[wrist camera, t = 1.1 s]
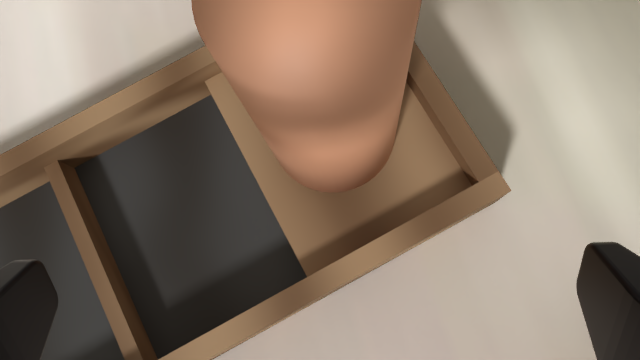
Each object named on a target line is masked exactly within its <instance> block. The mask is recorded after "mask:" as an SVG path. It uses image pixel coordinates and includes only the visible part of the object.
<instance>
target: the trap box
mask: <svg viewBox="0 0 640 360" xmlns="http://www.w3.org/2000/svg"><path fill="white" fill-rule="evenodd" d="M510 191H511V189H510V188H509V186H508V185H507V183H506V182H505V180H504V179H503V177H502V176H501V174H500V173H499V171H498V169H497V168H496V166H495V165H494V163H493V162H492V160H491V159H490V157H489V156H488V154H487V153H486V151H485V149H484V148H483V146H482V145H481V143H480V142H479V140H478V139H477V137H476V136H475V134H474V133H473V131H472V129H471V128H470V126H469V125H468V123H467V122H466V120H465V119H464V117H463V116H462V114H461V113H460V111H459V109H458V108H457V106H456V105H455V103H454V102H453V100H452V99H451V97H450V96H449V94H448V93H447V91H446V89H445V88H444V86H443V85H442V83H441V82H440V80H439V79H438V77H437V76H436V74H435V73H434V71H433V69H432V68H431V66H430V65H429V63H428V62H427V60H426V59H425V57H424V56H423V54H422V53H421V51H420V49H419V48H418V46H417V45H416V43H415V42H414V43H413V48H412V53H411V58H410V63H409V68H408V74H407V79H406V84H405V89H404V94H403V100H402V105H401V110H400V115H399V120H398V125H397V131H396V136H395V141H394V145H393V149H392V152H391V155H390V157H389V159H388V161H387V162H386V164H385V166H384V167H383V168H382V169H381V171H380V172H379V173H378V174H377V175H376V176H375V177H374V178H372V179H371V180H370V181H368V182H367V183H365V184H363V185H362V186H359V187H357V188H355V189H352V190H348V191H344V192H321V191H317V190H313V189H310V188H308V187H305V186H303V185H302V184H300V183H298V182H297V181H295V180H294V179H293V178H292V177H290V176H289V175H288V174H287V173H286V171H285V170H284V169H283V167H282V166H281V165H280V163H279V161H278V160H277V158H276V157H275V155H274V153H273V152H272V150H271V149H270V147H269V146H268V144H267V142H266V141H265V139H264V138H263V136H262V134H261V133H260V131H259V130H258V128H257V126H256V125H255V123H254V122H253V120H252V118H251V117H250V115H249V114H248V112H247V111H246V109H245V107H244V106H243V104H242V103H241V101H240V99H239V98H238V96H237V95H236V93H235V91H234V90H233V88H232V87H231V85H230V84H229V82H228V80H227V79H226V77H225V76H224V74H223V72H222V71H221V69H220V68H219V66H218V64H217V63H216V61H215V60H214V58H213V56H212V55H211V53H210V52H209V50H208V49H207V47H206V46H204V47H202V48H200V49H198V50H196V51H194V52H192V53H191V54H189V55H187V56H185V57H183V58H181V59H179V60H177V61H176V62H174V63H172V64H170V65H168V66H166V67H164V68H162V69H161V70H159V71H157V72H155V73H153V74H151V75H149V76H147V77H146V78H144V79H142V80H140V81H138V82H136V83H134V84H132V85H131V86H129V87H127V88H125V89H123V90H121V91H119V92H117V93H116V94H114V95H112V96H110V97H108V98H106V99H104V100H102V101H101V102H99V103H97V104H95V105H93V106H91V107H89V108H87V109H86V110H84V111H82V112H80V113H78V114H76V115H74V116H72V117H71V118H69V119H67V120H65V121H63V122H61V123H59V124H57V125H56V126H54V127H52V128H50V129H48V130H46V131H44V132H42V133H41V134H39V135H37V136H35V137H33V138H31V139H29V140H27V141H26V142H24V143H22V144H20V145H18V146H16V147H14V148H12V149H11V150H9V151H7V152H5V153H3V154H1V155H0V269H1V268H2V267H4V266H5V265H7V264H9V263H10V262H12V261H15V260H34V259H35V260H39V261H40V262H42V263H43V264H44V266H45V268H46V270H47V272H48V275H49V277H50V279H51V281H52V283H53V285H54V287H55V290H56V292H57V294H58V308H57V311H56V314H55V317H54V320H53V323H52V326H51V329H50V332H49V335H48V338H47V341H46V344H45V347H44V350H43V353H42V356H41V359H40V360H212V359H214V358H216V357H218V356H220V355H221V354H223V353H225V352H227V351H229V350H230V349H232V348H234V347H236V346H238V345H239V344H241V343H243V342H245V341H247V340H248V339H250V338H252V337H254V336H256V335H257V334H259V333H261V332H263V331H265V330H266V329H268V328H270V327H272V326H274V325H275V324H277V323H279V322H281V321H283V320H284V319H286V318H288V317H290V316H292V315H293V314H295V313H297V312H299V311H301V310H302V309H304V308H306V307H308V306H310V305H311V304H313V303H315V302H317V301H319V300H320V299H322V298H324V297H326V296H328V295H329V294H331V293H333V292H335V291H337V290H338V289H340V288H342V287H344V286H345V285H347V284H349V283H351V282H353V281H354V280H356V279H358V278H360V277H362V276H363V275H365V274H367V273H369V272H371V271H372V270H374V269H376V268H378V267H380V266H381V265H383V264H385V263H387V262H389V261H390V260H392V259H394V258H396V257H398V256H399V255H401V254H403V253H405V252H407V251H408V250H410V249H412V248H414V247H416V246H417V245H419V244H421V243H423V242H425V241H426V240H428V239H430V238H432V237H434V236H435V235H437V234H439V233H441V232H443V231H444V230H446V229H448V228H450V227H452V226H453V225H455V224H457V223H459V222H461V221H462V220H464V219H466V218H468V217H470V216H471V215H473V214H475V213H477V212H479V211H480V210H482V209H484V208H486V207H488V206H489V205H491V204H493V203H495V202H496V201H497V200H499V199H500V198H502V197H503V196H504V195H506V194H507V193H508V192H510Z"/></svg>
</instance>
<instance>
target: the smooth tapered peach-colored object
mask: <svg viewBox="0 0 640 360" xmlns="http://www.w3.org/2000/svg"><path fill="white" fill-rule="evenodd" d="M421 1H422V0H192V11H193V15H194V20H195V24H196V26H197V29H198V31H199V34H200V36H201V38H202V40H203V42H204V43H205V45H206V47H207V49H208V50H209V52H210V53H211V55H212V56H213V58H214V60H215V61H216V63H217V64H218V66H219V68H220V69H221V71H222V72H223V74H224V76H225V77H226V79H227V80H228V82H229V84H230V85H231V87H232V88H233V90H234V91H235V93H236V95H237V96H238V98H239V99H240V101H241V103H242V104H243V106H244V107H245V109H246V111H247V112H248V114H249V115H250V117H251V118H252V120H253V122H254V123H255V125H256V126H257V128H258V130H259V131H260V133H261V134H262V136H263V138H264V139H265V141H266V142H267V144H268V146H269V147H270V149H271V150H272V152H273V153H274V155H275V157H276V158H277V160H278V161H279V163H280V165H281V166H282V167H283V169H284V170H285V171H286V173H287V174H288V175H289V176H290V177H292V178H293V179H294V180H295V181H297V182H298V183H300V184H302V185H303V186H305V187H308V188H310V189H313V190H317V191H321V192H344V191H348V190H352V189H355V188H357V187H359V186H362V185H363V184H365V183H367V182H368V181H370V180H371V179H372V178H374V177H375V176H376V175H377V174H378V173H379V172H380V171H381V169H382V168H383V167H384V166H385V164H386V162H387V161H388V159H389V157H390V155H391V152H392V149H393V145H394V141H395V136H396V131H397V125H398V120H399V115H400V110H401V105H402V100H403V94H404V89H405V84H406V79H407V74H408V68H409V63H410V58H411V53H412V48H413V43H414V37H415V32H416V27H417V22H418V17H419V11H420V6H421Z"/></svg>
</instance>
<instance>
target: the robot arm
mask: <svg viewBox="0 0 640 360" xmlns="http://www.w3.org/2000/svg"><path fill="white" fill-rule="evenodd" d="M577 295H578V298H579V302H580V305H581V308H582V312H583V315H584V318H585V321H586V325H587V328H588V331H589V335H590V338H591V341H592V345H593V348H594V351H595V354H596V358H597V360H640V256H638V255H636V254H635V253H633V252H632V251H630V250H628V249H627V248H625V247H624V246H622V245H620V244H618V243H616V242H593V243H590V244H588V245H587V246H586V248H585V251H584V254H583V258H582V262H581V266H580V270H579V274H578V278H577ZM57 308H58V294H57V292H56V290H55V287H54V285H53V283H52V281H51V279H50V277H49V275H48V272H47V270H46V268H45V266H44V264H43V263H42V262H40V261H39V260H35V259H34V260H15V261H12V262H10V263H9V264H7V265H5V266H4V267H2V268H1V269H0V360H40V359H41V356H42V353H43V350H44V347H45V344H46V341H47V338H48V335H49V332H50V329H51V326H52V323H53V320H54V317H55V314H56V311H57Z"/></svg>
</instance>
